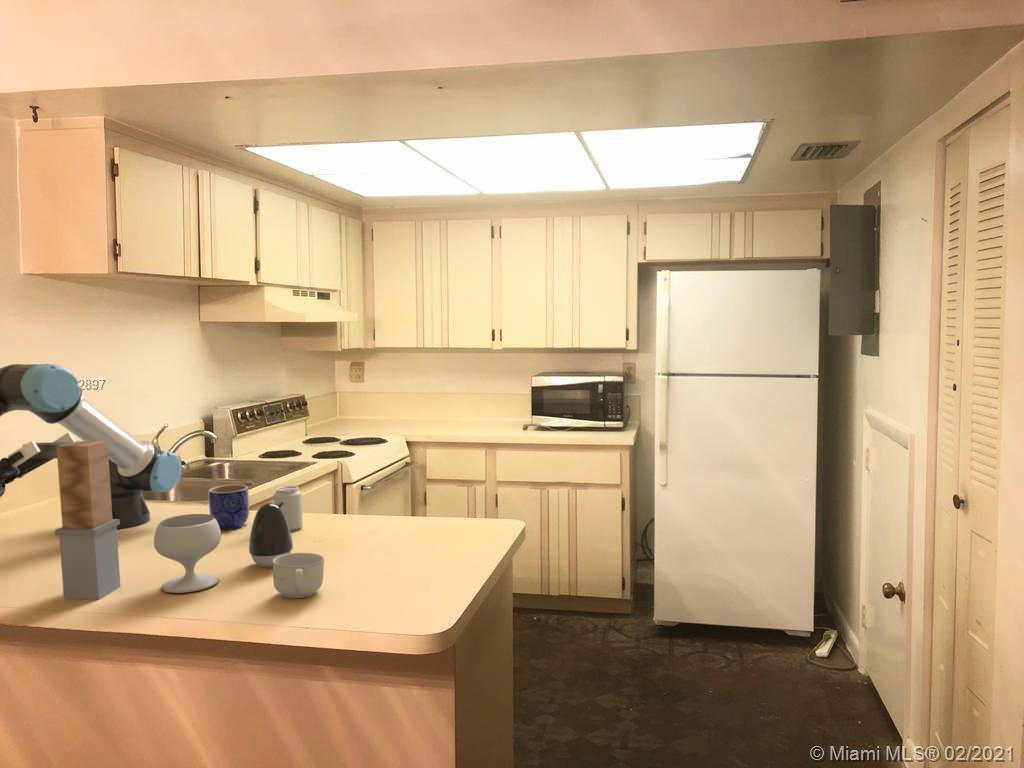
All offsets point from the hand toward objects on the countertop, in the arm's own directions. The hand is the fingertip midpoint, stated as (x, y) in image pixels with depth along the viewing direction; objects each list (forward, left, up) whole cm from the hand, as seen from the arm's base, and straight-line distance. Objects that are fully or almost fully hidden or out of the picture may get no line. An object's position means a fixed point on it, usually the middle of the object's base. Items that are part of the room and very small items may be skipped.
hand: (54, 441), depth 171 cm
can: (-60, -10, -34) cm, 70 cm away
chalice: (-21, +16, -34) cm, 43 cm away
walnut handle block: (-1, +1, -18) cm, 19 cm away
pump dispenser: (-41, +16, -34) cm, 56 cm away
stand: (-4, +5, -34) cm, 35 cm away
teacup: (-34, +41, -34) cm, 64 cm away
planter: (-50, -26, -34) cm, 66 cm away
